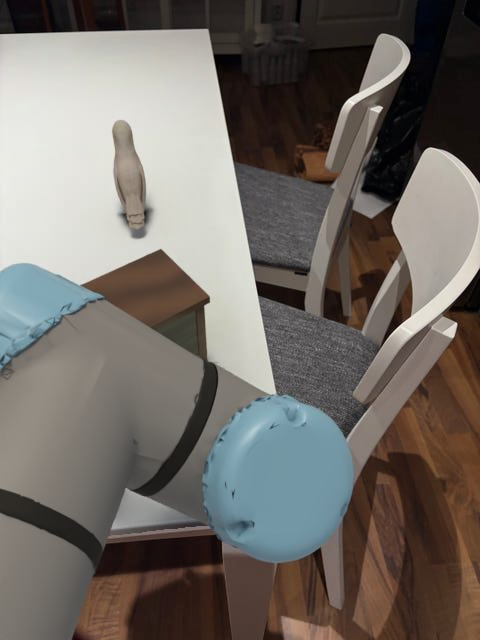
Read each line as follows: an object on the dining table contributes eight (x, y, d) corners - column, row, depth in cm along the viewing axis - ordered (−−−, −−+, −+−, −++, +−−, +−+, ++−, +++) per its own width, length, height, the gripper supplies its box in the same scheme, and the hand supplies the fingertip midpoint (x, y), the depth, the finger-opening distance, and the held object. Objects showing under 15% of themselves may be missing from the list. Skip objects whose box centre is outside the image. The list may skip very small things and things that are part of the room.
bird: (146, 190, 94) (134, 109, 83) (154, 237, 86) (142, 153, 75) (118, 193, 94) (103, 112, 83) (124, 241, 85) (107, 156, 74)
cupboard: (213, 373, 67) (210, 296, 57) (100, 441, 60) (72, 367, 50) (171, 327, 72) (161, 248, 62) (63, 384, 66) (31, 307, 55)
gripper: (82, 572, 34) (55, 487, 55) (322, 404, 42) (218, 386, 63) (25, 474, 33) (19, 426, 54) (282, 321, 41) (190, 331, 62)
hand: (126, 405), depth 58 cm, fingers open, 8 cm apart
